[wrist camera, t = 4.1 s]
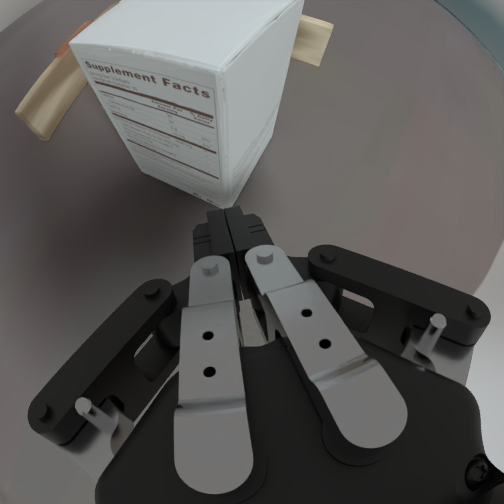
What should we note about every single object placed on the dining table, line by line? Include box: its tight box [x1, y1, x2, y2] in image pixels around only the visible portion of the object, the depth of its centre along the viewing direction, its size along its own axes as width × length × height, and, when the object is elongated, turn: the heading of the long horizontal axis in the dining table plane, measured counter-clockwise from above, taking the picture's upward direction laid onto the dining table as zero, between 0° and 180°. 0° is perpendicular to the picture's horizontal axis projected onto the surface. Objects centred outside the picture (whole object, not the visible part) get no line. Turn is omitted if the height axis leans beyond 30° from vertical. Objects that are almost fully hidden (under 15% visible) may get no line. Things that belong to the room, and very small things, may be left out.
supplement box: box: [69, 0, 304, 209], centre depth 13 cm, size 7×7×13 cm
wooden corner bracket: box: [15, 0, 334, 141], centre depth 18 cm, size 23×17×6 cm
